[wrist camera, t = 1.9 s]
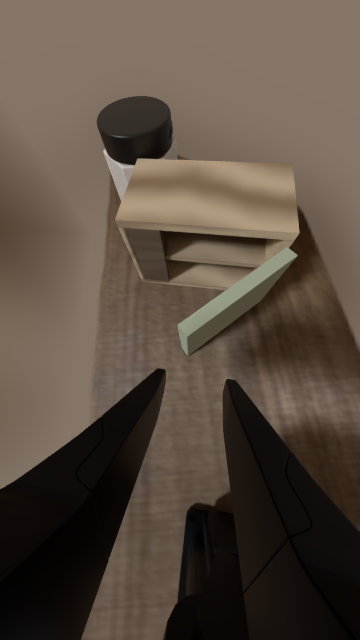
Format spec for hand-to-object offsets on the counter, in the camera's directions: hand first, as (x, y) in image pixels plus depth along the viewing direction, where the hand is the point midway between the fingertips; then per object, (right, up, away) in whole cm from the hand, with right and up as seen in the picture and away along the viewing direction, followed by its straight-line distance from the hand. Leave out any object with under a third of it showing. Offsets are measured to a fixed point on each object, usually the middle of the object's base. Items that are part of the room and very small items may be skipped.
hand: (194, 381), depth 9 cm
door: (+5, +2, +14) cm, 15 cm away
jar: (-5, +21, +22) cm, 31 cm away
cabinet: (+2, +12, +18) cm, 22 cm away
